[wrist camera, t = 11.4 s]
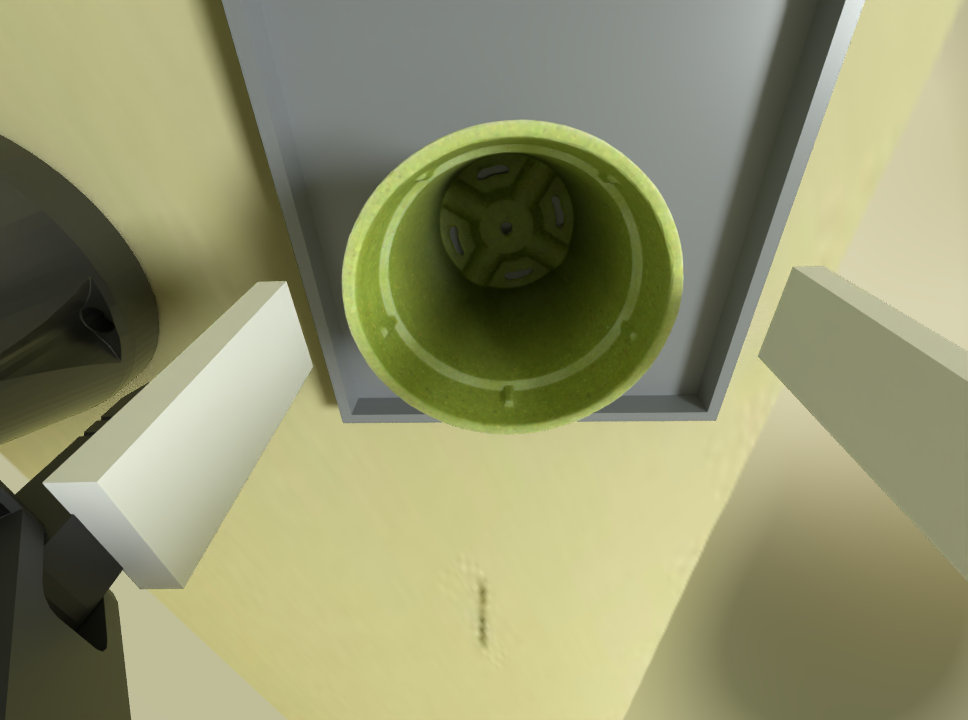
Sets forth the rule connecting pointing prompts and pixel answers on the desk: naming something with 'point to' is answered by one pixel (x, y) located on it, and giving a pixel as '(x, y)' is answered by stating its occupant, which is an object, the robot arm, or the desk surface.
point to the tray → (558, 99)
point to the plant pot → (513, 302)
